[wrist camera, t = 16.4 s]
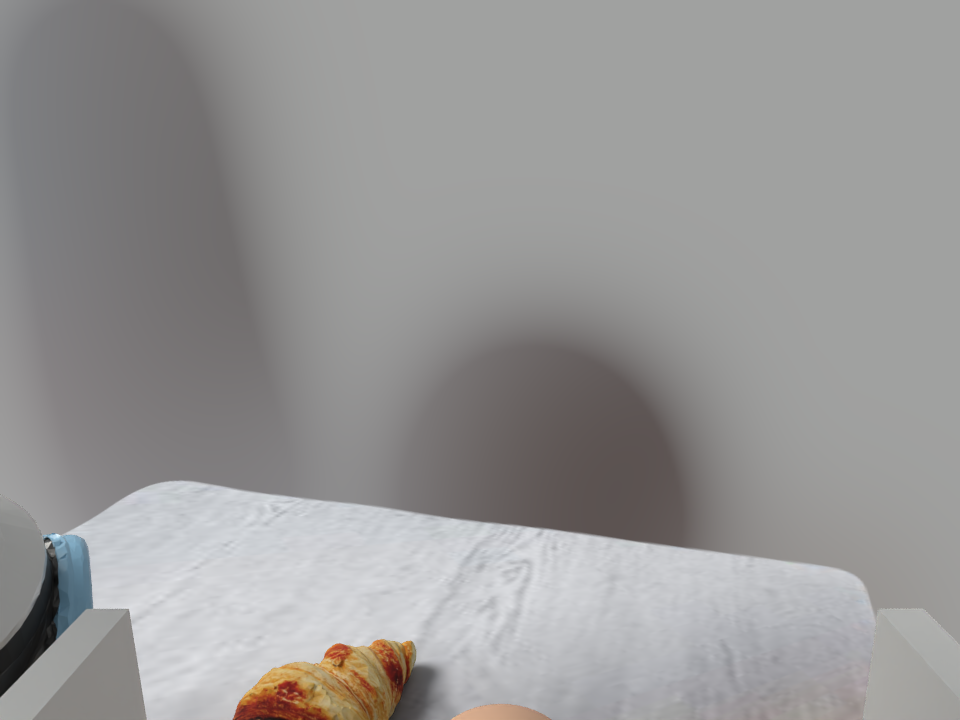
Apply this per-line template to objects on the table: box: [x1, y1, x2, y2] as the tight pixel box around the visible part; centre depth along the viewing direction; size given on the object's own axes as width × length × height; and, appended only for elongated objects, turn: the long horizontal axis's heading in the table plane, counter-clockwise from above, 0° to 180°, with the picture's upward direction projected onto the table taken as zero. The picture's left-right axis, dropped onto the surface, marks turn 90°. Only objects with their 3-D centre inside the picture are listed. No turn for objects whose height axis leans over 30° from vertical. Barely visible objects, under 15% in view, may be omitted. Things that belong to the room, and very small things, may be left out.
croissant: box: [233, 639, 416, 720], centre depth 49 cm, size 21×10×8 cm, turn 147°
